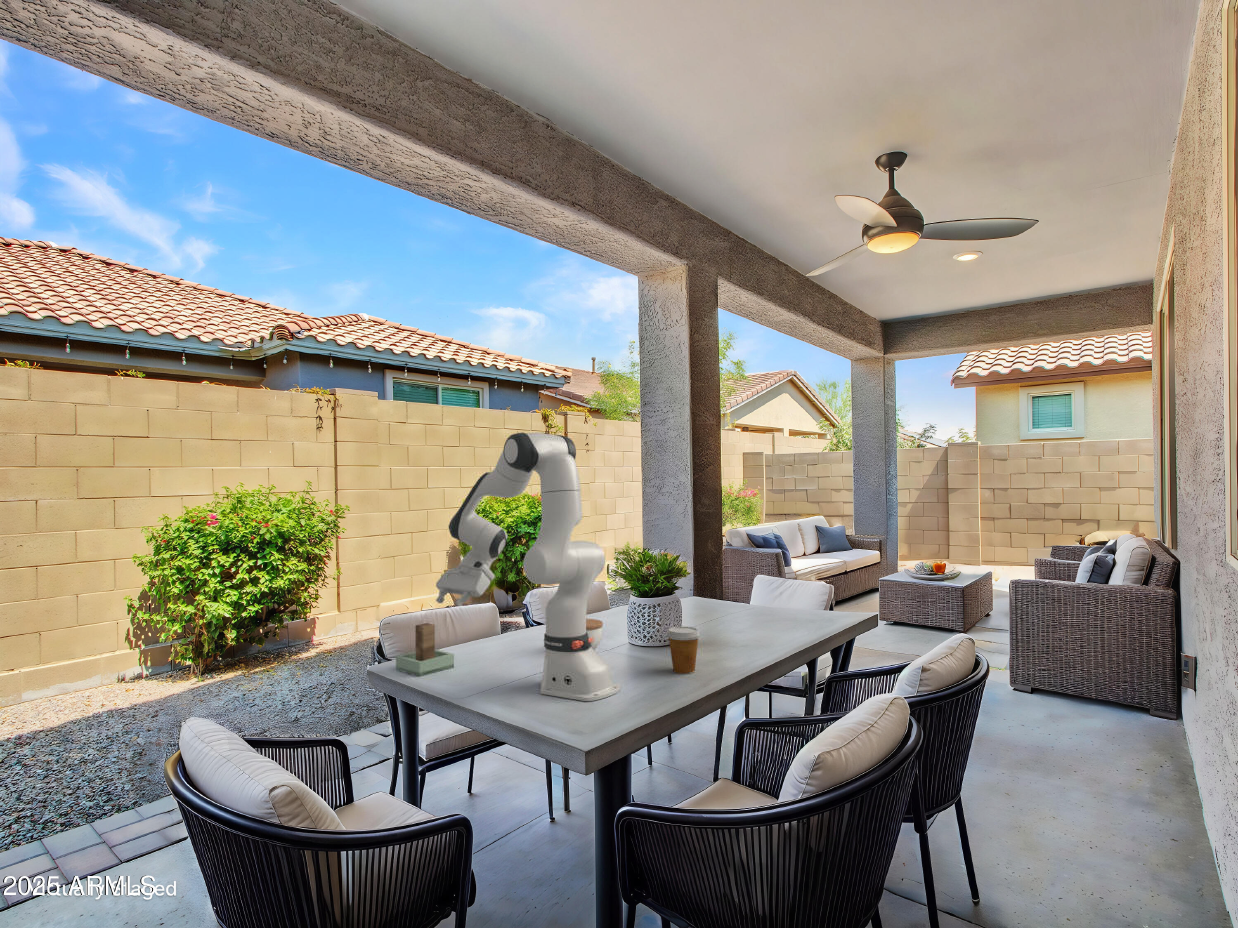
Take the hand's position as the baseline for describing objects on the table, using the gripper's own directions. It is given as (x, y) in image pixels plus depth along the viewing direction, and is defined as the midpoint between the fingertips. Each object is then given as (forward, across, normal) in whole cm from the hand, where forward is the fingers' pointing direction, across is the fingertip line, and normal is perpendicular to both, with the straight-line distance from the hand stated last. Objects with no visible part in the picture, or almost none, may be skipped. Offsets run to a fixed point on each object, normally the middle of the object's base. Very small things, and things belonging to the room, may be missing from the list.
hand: (447, 603), depth 203 cm
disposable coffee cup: (-12, +64, +38) cm, 76 cm away
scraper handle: (+18, 0, +6) cm, 19 cm away
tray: (+19, 0, +7) cm, 20 cm away
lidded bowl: (-13, +24, +39) cm, 48 cm away
